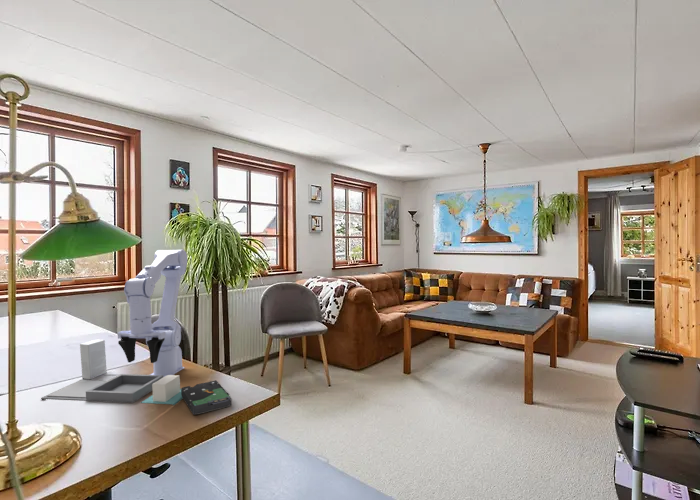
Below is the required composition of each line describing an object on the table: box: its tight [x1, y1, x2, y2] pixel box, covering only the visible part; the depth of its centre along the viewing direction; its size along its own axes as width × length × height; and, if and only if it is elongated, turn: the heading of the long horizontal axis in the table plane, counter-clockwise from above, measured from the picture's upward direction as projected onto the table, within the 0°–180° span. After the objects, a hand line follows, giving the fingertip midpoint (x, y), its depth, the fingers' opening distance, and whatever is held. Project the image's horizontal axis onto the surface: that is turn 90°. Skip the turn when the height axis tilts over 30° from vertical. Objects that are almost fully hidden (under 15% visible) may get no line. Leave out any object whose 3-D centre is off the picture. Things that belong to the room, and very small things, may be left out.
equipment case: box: [40, 373, 163, 404], centre depth 117 cm, size 14×30×3 cm, turn 82°
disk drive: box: [180, 380, 232, 415], centre depth 108 cm, size 10×3×15 cm
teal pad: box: [140, 388, 184, 406], centre depth 112 cm, size 10×10×1 cm
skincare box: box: [79, 338, 107, 380], centre depth 131 cm, size 6×4×12 cm
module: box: [152, 374, 181, 402], centre depth 112 cm, size 7×4×5 cm, turn 172°
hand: (142, 361), depth 116 cm, fingers open, 7 cm apart
